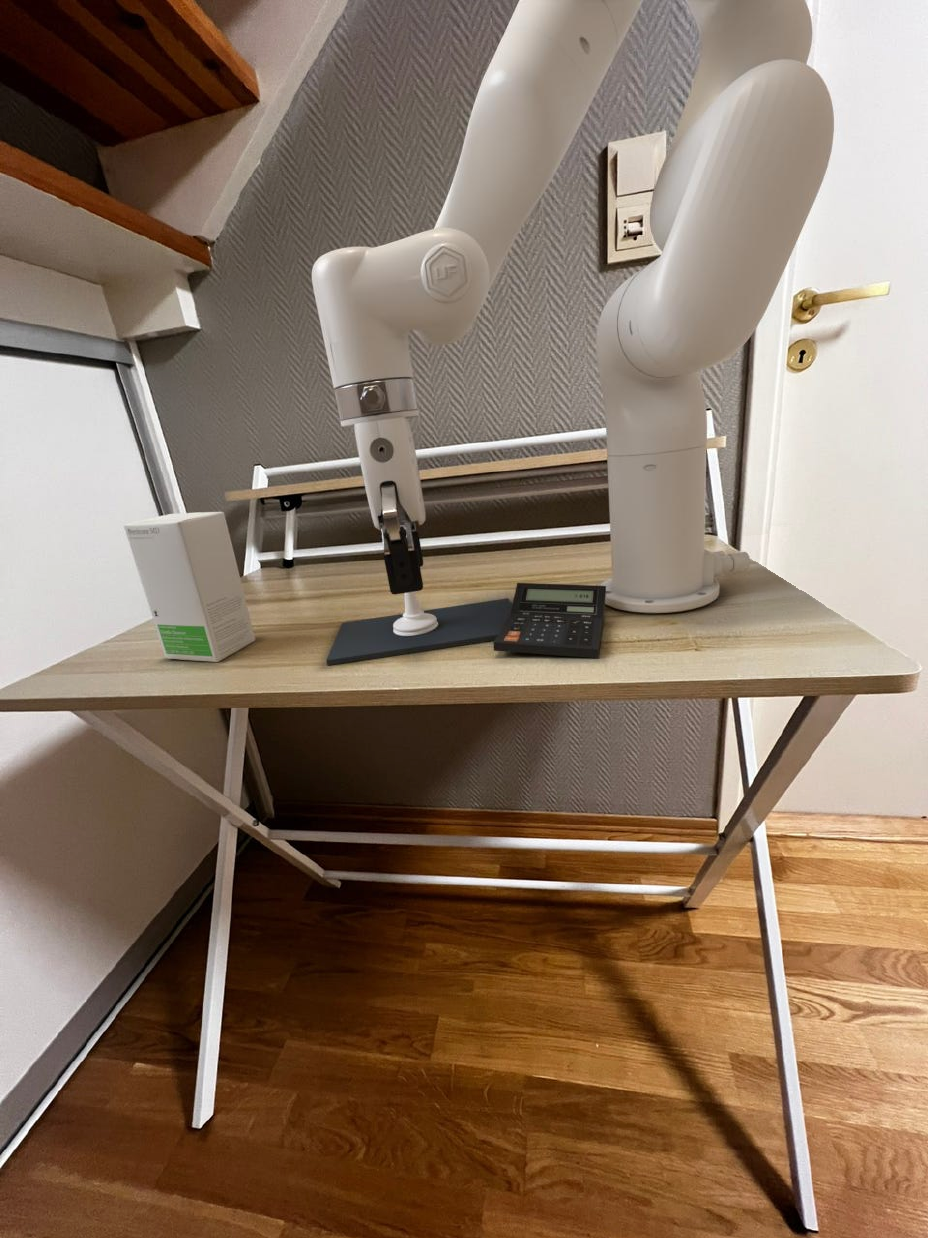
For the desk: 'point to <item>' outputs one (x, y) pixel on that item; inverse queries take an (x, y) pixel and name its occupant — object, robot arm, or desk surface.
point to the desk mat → (451, 631)
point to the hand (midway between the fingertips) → (408, 578)
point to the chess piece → (414, 619)
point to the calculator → (554, 620)
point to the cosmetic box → (192, 584)
